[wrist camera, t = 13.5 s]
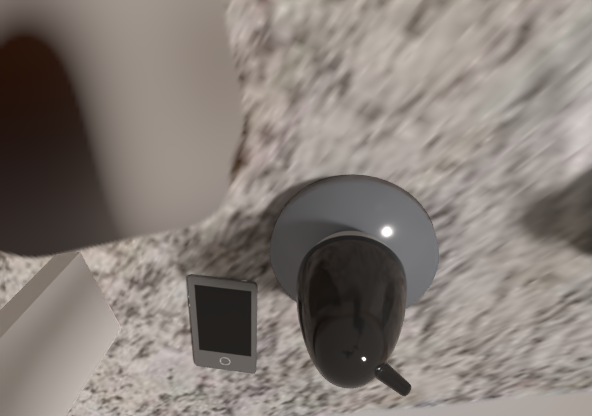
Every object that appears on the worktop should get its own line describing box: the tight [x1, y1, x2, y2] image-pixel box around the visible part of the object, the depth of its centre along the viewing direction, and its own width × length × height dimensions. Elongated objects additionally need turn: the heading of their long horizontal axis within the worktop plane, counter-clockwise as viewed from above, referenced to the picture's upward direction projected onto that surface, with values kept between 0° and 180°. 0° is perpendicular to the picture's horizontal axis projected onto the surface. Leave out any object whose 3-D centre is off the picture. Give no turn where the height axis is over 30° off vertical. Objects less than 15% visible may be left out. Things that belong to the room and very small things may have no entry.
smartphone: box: [188, 274, 257, 373], centre depth 57 cm, size 15×8×1 cm, turn 177°
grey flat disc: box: [270, 175, 439, 308], centre depth 48 cm, size 17×17×2 cm
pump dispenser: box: [296, 231, 411, 396], centre depth 41 cm, size 10×10×15 cm
